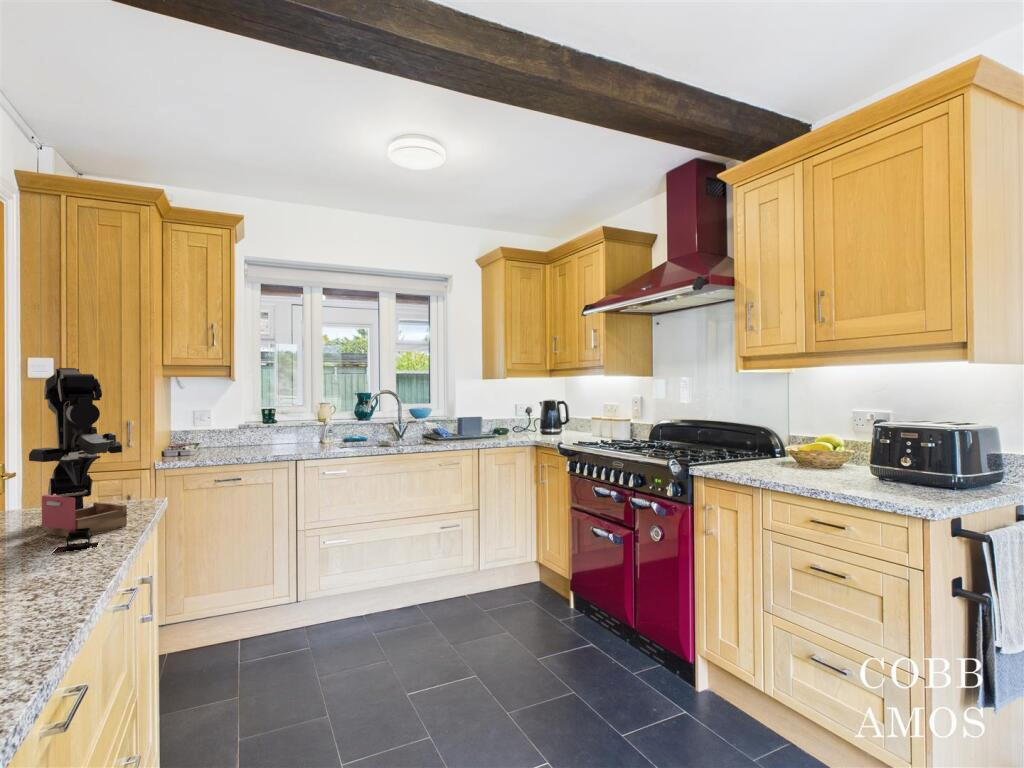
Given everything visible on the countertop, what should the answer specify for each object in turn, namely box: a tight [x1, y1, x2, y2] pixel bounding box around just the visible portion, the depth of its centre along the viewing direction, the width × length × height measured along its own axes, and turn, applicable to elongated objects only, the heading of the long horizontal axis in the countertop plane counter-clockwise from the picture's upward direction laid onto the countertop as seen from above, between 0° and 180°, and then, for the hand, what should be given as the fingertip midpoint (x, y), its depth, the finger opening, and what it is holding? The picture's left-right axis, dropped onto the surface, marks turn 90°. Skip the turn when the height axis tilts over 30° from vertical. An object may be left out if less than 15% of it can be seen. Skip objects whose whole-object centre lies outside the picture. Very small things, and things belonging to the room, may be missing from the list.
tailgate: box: [41, 494, 75, 530], centre depth 133 cm, size 10×2×8 cm, turn 72°
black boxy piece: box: [51, 528, 100, 555], centre depth 126 cm, size 12×7×5 cm, turn 120°
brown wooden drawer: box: [46, 501, 128, 537], centre depth 140 cm, size 11×12×6 cm
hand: (78, 485), depth 138 cm, fingers closed
